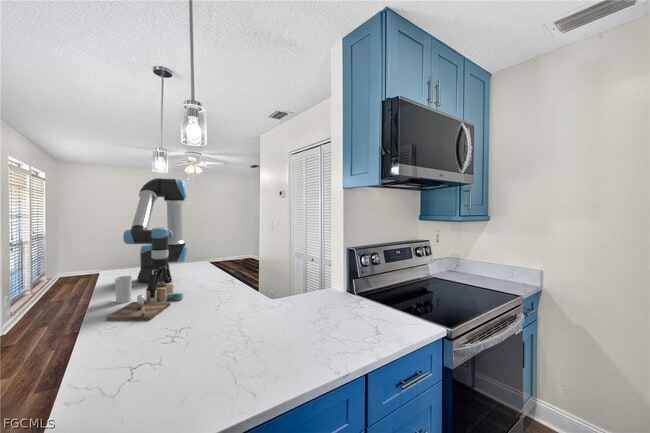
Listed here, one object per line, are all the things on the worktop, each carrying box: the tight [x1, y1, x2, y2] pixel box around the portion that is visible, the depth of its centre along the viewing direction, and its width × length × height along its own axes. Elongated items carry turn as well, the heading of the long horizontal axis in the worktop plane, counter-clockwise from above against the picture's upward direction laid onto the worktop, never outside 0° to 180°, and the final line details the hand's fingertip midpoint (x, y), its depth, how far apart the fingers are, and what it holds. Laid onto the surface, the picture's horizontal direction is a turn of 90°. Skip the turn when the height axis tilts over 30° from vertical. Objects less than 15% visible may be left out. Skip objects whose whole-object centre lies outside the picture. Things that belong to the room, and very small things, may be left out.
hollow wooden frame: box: [145, 283, 184, 302], centre depth 148 cm, size 16×9×7 cm, turn 93°
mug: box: [114, 275, 133, 304], centre depth 144 cm, size 10×7×12 cm, turn 66°
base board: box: [105, 301, 172, 321], centre depth 131 cm, size 18×18×2 cm
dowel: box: [141, 307, 145, 316], centre depth 123 cm, size 1×1×4 cm
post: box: [136, 294, 145, 310], centre depth 130 cm, size 2×2×6 cm
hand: (160, 299), depth 148 cm, fingers open, 12 cm apart
